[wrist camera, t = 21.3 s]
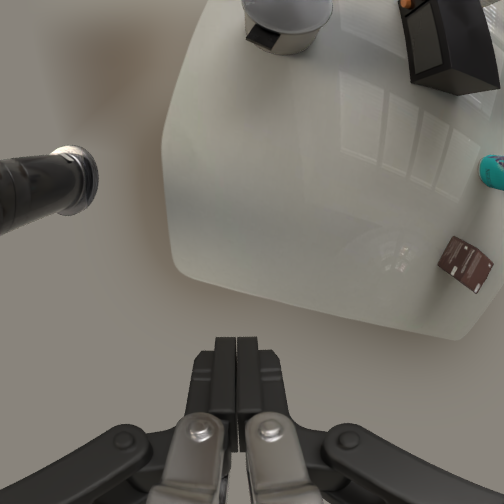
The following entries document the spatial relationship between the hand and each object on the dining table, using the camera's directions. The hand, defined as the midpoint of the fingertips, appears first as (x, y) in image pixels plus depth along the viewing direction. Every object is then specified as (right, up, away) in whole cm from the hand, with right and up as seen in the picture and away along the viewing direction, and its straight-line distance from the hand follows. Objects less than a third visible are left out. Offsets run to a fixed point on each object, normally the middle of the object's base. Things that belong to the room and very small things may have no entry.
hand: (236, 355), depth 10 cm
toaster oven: (+29, +37, +20) cm, 52 cm away
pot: (+5, +35, +21) cm, 41 cm away
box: (+36, +3, +32) cm, 48 cm away
